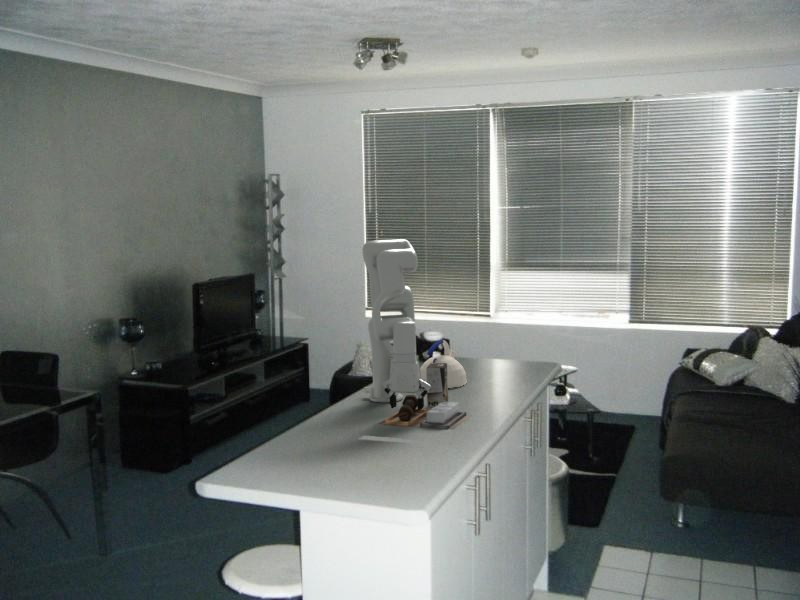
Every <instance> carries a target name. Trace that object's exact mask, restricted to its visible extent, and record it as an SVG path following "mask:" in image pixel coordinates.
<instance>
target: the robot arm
mask: <svg viewBox="0 0 800 600" xmlns="http://www.w3.org/2000/svg"><path fill="white" fill-rule="evenodd" d="M362 258H363V262H364V265H365V267H366V269H367V272H368V276H369V292H370V293H369V295H370V304H371V319H370V320H369V321H368V327H367V329H368V334H369V339H370V345H371V364H372V370H371V371H372V387H370V386H369V387H368V386H364V388H363V390H364V393H365V394H370V396H369V401H371V402H375V403H389V405H390V408H391V409H395V408H396V407H397V402H399V401H401V400H404V395H403V394H404V393H405V394H416V395H415V396H416V397H418V398H417V409H418V410H421V409H424V406H425V399H424V398H425V397H426V396H427V393H428V392H429V389H430V387H431V385H430V384H428V383H427V382H425V381H423V380H422V379H421V372H420V368H421V366H420V363H419V360H418V361H417V338H416V337H417V336H416V335H417V334H416V331H417V328H416V325H417V324H416V319H415V317H416V316H415V301H414V300H415V299H414V294H413V291H412V289H411V288H410V286H408V285H405V279H404V273H414V272H416V271H417V269H418V266H419V260H418V255H417V252H416V250H415V248H414V247H413V245H412V244H411V242H410V241H409V240H408V239H404V238H401V239H400V238H399V239H397V238H395V239H375V240H370V241H367V242H365V243H364V244H363V246H362ZM387 312H388V313H389V312H400V313H401V314H387V315H386V314H385V315H381V313H387ZM392 341H393V342H392ZM391 342H392V344H391ZM422 385H423V386H424V387H425V388H424V390H423V387H422ZM401 393H403V394H401Z"/></svg>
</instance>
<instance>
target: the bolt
mask: <svg viewBox="0 0 800 600" xmlns="http://www.w3.org/2000/svg"><path fill="white" fill-rule="evenodd" d="M417 399H418V398H417V395H414V394H407V395H405V397H404V398H403V401H402V403H401V404H402V405H401V407H400V409H399V410H398V411H399V412H398V411H397V412H398V414H399V419H400V420H401V421H406V420H407V419H410V417H411V416H412V414H413V410H415V409H418V407H417Z"/></svg>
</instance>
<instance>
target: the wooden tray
mask: <svg viewBox="0 0 800 600" xmlns="http://www.w3.org/2000/svg"><path fill="white" fill-rule="evenodd" d="M428 411H429V410H428V409H425V408H423V409H421V410H418V408H416V409H415V410H413V414H412V416H411V417H410V419H407V420H406V421H401V420H400V419H399V414H398V412H399V410H398V411H397V412H394V413H393V414H391V415H390V416H388V417H387V418H385V419H383V420H382V421H380V422H379V423H378V424H379V425H387V426H389V425H390V426H403V427H417V428H418V427H419V428H428V429H442V430H454V429H455V428H457V427H458V426H460V425H461V424H463V422H465V421H466V420H468V419H469V418H470V417H471V416H472V415H471V414H467V411H460V415H459V416H458V417H457V418H455V419H454V420H453V421H451V422H450V423H449V424H447V425H442V424H428V423H427V412H428Z"/></svg>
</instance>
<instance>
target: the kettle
mask: <svg viewBox="0 0 800 600" xmlns="http://www.w3.org/2000/svg"><path fill="white" fill-rule="evenodd" d="M441 344H442V345H443V348H444V349H443V350H444V353H443V354H441V355H435V356H432V355H433V352H434V351H435V350H436V348H437V347H438V346H440V345H441ZM456 355H457V353H456V351H455V350H453V349H450V345H449V343H448V342H447V341H446V340H445V339H444V340H443V339H440V340H437V341H435V343H433V344H432V345H431V346H430V348H429V350H428V351H427V353H426V356H432V357H430V358H428V359H427V360H426V361H424V363H423V364H422V365H421V366H420V372H421V379H422V380H423V381H425V382H427V372H426V368H427V367H428V365H429V364H430V363H432V364H435V363H447V377H448V388H450V389H454V388H453V387H457V388H461V387H464V386H466V385H467V384H466V383H468V382H467V381H468V380H467V373H466V371H465V368H464V366H463V365H462V364H461V363H460V362H459V361H458V360H456V359H455V356H456ZM465 384H466V385H465ZM463 385H464V386H463ZM460 386H461V387H460ZM423 387H424V386H423V385H422V388H423ZM424 389H425V387H424Z"/></svg>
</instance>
